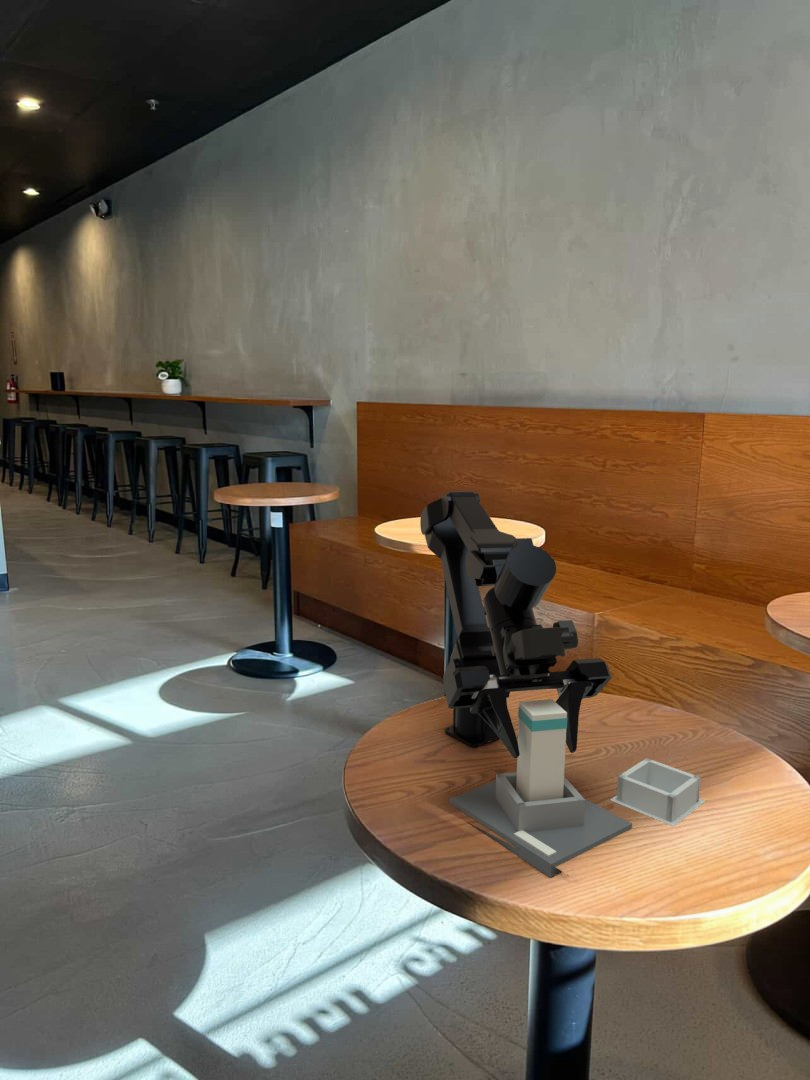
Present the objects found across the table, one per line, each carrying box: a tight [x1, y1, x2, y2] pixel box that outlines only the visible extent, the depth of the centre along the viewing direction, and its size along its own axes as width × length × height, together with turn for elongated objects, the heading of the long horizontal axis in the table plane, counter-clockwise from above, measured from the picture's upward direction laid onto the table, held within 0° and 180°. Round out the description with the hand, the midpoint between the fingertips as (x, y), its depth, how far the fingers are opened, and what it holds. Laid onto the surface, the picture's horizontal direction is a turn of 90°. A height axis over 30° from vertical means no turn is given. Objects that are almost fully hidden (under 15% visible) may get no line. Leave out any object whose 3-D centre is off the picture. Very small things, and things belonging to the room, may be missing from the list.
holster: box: [609, 757, 706, 827], centre depth 91 cm, size 8×8×4 cm
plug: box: [516, 698, 567, 802], centre depth 86 cm, size 4×4×12 cm
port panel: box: [448, 771, 633, 878], centre depth 87 cm, size 16×13×4 cm
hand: (545, 754), depth 84 cm, fingers open, 6 cm apart
